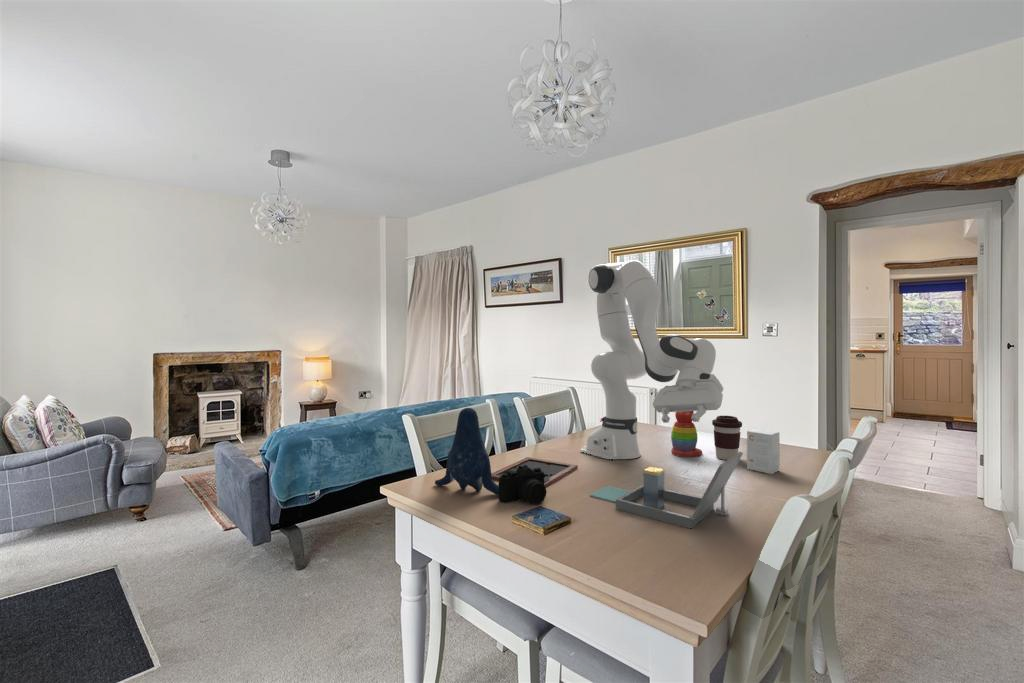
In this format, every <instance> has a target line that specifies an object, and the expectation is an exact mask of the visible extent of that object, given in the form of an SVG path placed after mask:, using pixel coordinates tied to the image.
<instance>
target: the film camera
mask: <svg viewBox="0 0 1024 683" xmlns="http://www.w3.org/2000/svg"><path fill="white" fill-rule="evenodd" d="M545 476H548V474H544V472H543V471H541V469H540V468H534V470H532V469H531V468H528V466H527V465H524V466H519V468H518V469H517V470H516V471H512V470H509V471H505V472H504V473H503V474H502V476H500V477H499V481H498V486H499V495H498V501H499V502H500V503H502V504H504V503H505V504H507V503H512V502H516V501H517V502H518V501H523V502H528V503H529V504H532V505H539V504H541V503H542V502H544V500H545V499H546V497H547V487H545V486H544V477H545Z"/></svg>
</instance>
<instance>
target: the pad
mask: <svg viewBox="0 0 1024 683" xmlns="http://www.w3.org/2000/svg"><path fill="white" fill-rule="evenodd" d="M630 491H631V490H626V489H622V488H618V487H614V486H611V485H610V486H609V485H606V486H604V487H602V488H600V489H598V490H596V491H594V492H592V493H590V494H589V497H592V498H595V499H600V500H604V501H608V502H612V503H614V504H616V499H618V498H619V497H621V496H623V495H625V494H627V493H628V492H630Z"/></svg>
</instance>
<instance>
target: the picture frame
mask: <svg viewBox="0 0 1024 683" xmlns="http://www.w3.org/2000/svg"><path fill="white" fill-rule="evenodd" d="M524 465H527V466H528V468H531V469H532V470H534V468H540V469H541V471H543V472H544V474H548V476H545V477H544V486H545V487H546V488H547V487H549V486H551V485H553V484H555V483H556V482H557V481H559V480H561V479H563V478H565V477H566V476H567V474H568V475H569V474H571V473H573V472H574V470H575V471H576V470H578V469H577V468H579V465H578V464H574V463H566V462H560V461H556V460H555V461H553V460H548V459H547V460H546V459H540V458H535V457H534V458H533V457H529V456H526V457H525V458H523V459H520V460H518V461H515V462H514V463H511V464H509V465H507V466H504V467H503V468H500V469H499V470H496V471H493V472H491V475H492V480H493V481H496V480H497V482H499V477H500V476H502V474H503V473H504V472H505V471H509V470H512V471H516V470H517V469H518V468H519V466H524ZM572 471H573V472H572Z"/></svg>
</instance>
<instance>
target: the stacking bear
mask: <svg viewBox="0 0 1024 683" xmlns="http://www.w3.org/2000/svg"><path fill="white" fill-rule="evenodd" d="M692 414H695V411H684V412H674V415H675V420H676V421H675V422H674V423H673V426H672V431H671V435H670V438H671V439H670V440H671V445H672V447H671V451H670V452H672V453H671V454H672V455H673V454H674V455H673V456H676V455H678V456H677V457H681V456H684V457H683V458H693V457H694V456H695V457H699V456H701V455H703V451H702V449H700V448H698V447H697V444H698V437H699V436H698V433H697V432H698V431H697V427H696V426H695V422H693V420H692V419H691V417H692Z"/></svg>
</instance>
